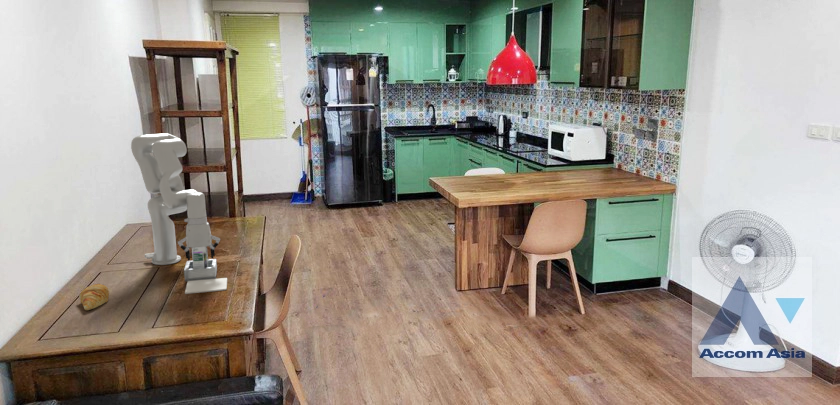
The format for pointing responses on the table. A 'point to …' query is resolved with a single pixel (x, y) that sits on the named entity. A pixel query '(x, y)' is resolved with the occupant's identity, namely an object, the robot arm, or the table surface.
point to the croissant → (94, 296)
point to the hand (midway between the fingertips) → (200, 258)
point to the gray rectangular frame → (200, 271)
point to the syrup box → (200, 257)
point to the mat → (206, 285)
